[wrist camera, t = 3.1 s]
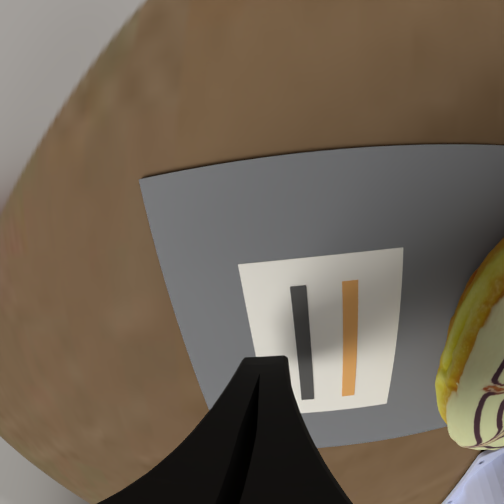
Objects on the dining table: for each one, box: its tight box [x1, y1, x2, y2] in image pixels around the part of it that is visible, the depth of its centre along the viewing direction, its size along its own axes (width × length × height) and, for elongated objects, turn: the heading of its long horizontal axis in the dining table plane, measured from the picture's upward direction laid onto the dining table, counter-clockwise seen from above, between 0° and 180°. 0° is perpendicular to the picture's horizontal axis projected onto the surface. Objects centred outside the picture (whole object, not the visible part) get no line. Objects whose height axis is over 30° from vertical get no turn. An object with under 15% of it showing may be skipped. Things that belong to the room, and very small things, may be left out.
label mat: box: [139, 144, 504, 448], centre depth 10 cm, size 13×20×1 cm, turn 99°
